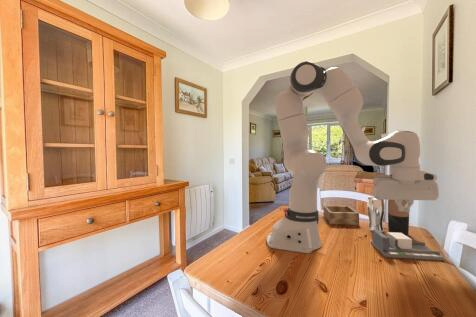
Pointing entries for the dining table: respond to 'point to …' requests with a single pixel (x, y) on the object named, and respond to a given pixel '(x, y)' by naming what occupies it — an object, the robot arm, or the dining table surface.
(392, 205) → the travel mug
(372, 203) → the beer glass
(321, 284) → the dining table surface
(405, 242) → the block
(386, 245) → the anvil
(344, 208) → the tray
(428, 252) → the gauge board
